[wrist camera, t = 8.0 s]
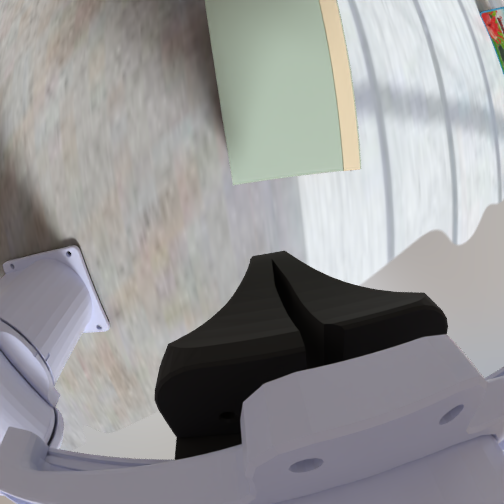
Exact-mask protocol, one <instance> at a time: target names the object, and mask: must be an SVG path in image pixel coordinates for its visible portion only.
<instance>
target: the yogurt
mask: <svg viewBox="0 0 504 504" xmlns="http://www.w3.org/2000/svg"><path fill="white" fill-rule="evenodd" d="M480 16H481V18H482V20H483V22H484V24H485V27H486V29H487V31H488V34H489V36H490V38H491V41H492V43H493V46H494V48H495V51H496V54H497V57H498V59H499V62H500V65H501V68H502V71H503V74H504V7H500V8H496V9H491V10H487V11H483V12H481V13H480Z"/></svg>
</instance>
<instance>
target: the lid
mask: <svg viewBox="0 0 504 504" xmlns="http://www.w3.org/2000/svg"><path fill="white" fill-rule="evenodd" d="M205 7H206V14H207V20H208V27H209V34H210V40H211V47H212V54H213V60H214V67H215V73H216V80H217V86H218V93H219V99H220V106H221V112H222V119H223V125H224V131H225V138H226V144H227V150H228V156H229V163H230V169H231V175H232V181H233V185H238V184H245V183H251V182H257V181H264V180H271V179H278V178H285V177H293V176H301V175H309V174H317V173H326V172H335V171H348V170H359V169H361V159H360V145H359V134H358V123H357V114H356V105H355V97H354V89H353V82H352V75H351V69H350V63H349V57H348V51H347V45H346V40H345V35H344V30H343V25H342V20H341V16H340V11H339V7H338V3H337V0H205Z"/></svg>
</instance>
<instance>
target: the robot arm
mask: <svg viewBox="0 0 504 504" xmlns="http://www.w3.org/2000/svg"><path fill="white" fill-rule="evenodd" d="M68 251H69V252H70V253H71V255H70V254H69V253H68ZM13 265H14V266H13ZM3 269H4V272H5V275H4V276H3V277H2V278H1V279H0V495H1V496H5V497H7V498H8V499H10V500H11V501H13V502H14V503H16V504H504V367H502V368H501V369H499V370H497V371H496V372H494V373H493V374H491V375H489V376H487V377H486V378H484V377H483V376H482V374H481V373H480V372H479V370H478V369H477V368H476V367H475V365H474V364H473V363H472V362H471V361H470V360H469V358H468V357H467V356H466V354H465V353H464V352H463V351H462V350H461V348H460V347H459V346H458V345H457V344H456V343H455V342H454V341H453V340H452V339H451V338H450V337H449V336H448V335H447V328H448V325H447V318H446V316H445V314H444V313H443V311H442V310H441V309H440V308H439V307H438V306H437V305H436V304H435V303H434V302H433V301H432V300H431V299H430V298H429V297H428V296H427V295H426V294H425V293H412V292H410V293H409V292H391V291H383V290H375V289H370V288H366V287H361V286H357V285H353V284H350V283H346V282H344V281H341V280H338V279H335V278H332V277H330V276H328V275H326V274H323V273H321V272H319V271H317V270H315V269H313V268H312V267H310V266H308V265H306V264H305V263H303V262H301V261H300V260H298V259H297V258H295V257H293V256H292V255H290V254H289V253H287V252H286V251H280V252H275V253H269V254H263V255H257V256H253V257H252V258H251V259H250V264H249V267H248V269H247V272H246V274H245V276H244V278H243V280H242V282H241V284H240V285H239V287H238V289H237V290H236V292H235V293H234V295H233V296H232V297H231V299H230V300H229V301H228V303H227V304H226V305H225V306H224V307H223V308H222V309H221V310H220V311H219V312H217V313H216V314H215V315H214V316H213V317H212V318H211V319H209V320H208V321H207V322H206V323H204V324H203V325H201V326H200V327H198V328H197V329H195V330H194V331H192V332H191V333H189V334H187V335H185V336H183V337H181V338H179V339H178V340H176V341H174V342H172V343H169V344H168V346H167V349H166V352H165V354H164V356H163V359H162V362H161V365H160V369H159V373H158V378H157V383H156V388H155V402H156V404H157V407H158V409H159V411H160V413H161V414H162V416H163V417H164V419H165V420H166V422H167V423H168V425H169V427H170V428H171V429H172V431H173V433H174V434H175V435H176V437H177V440H176V451H175V460H156V459H132V458H119V457H107V456H99V455H90V454H84V453H78V452H71V451H66V450H60V447H61V444H62V440H63V430H64V421H63V417H62V414H61V413H60V411H59V410H58V409H57V408H56V404H57V402H58V400H59V398H60V394H59V393H58V391H57V390H56V389H55V387H54V386H55V384H56V382H57V380H58V378H59V376H60V374H61V372H62V370H63V368H64V366H65V364H66V362H67V360H68V358H69V357H70V355H71V353H72V351H73V349H74V347H75V345H76V344H77V342H78V340H79V338H80V336H81V335H82V333H88V332H101V331H108V330H109V328H110V324H109V322H108V319H107V317H106V315H105V313H104V310H103V308H102V306H101V303H100V301H99V299H98V296H97V294H96V291H95V289H94V286H93V284H92V281H91V279H90V276H89V273H88V271H87V268H86V265H85V263H84V260H83V257H82V254H81V251H80V249H79V248H78V247H77V246H75V245H73V246H68V247H64V248H59V249H55V250H51V251H46V252H42V253H38V254H34V255H29V256H25V257H21V258H17V259H13V260H9V261H6V262H4V263H3ZM98 325H100V326H101V327H100V326H98Z"/></svg>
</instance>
